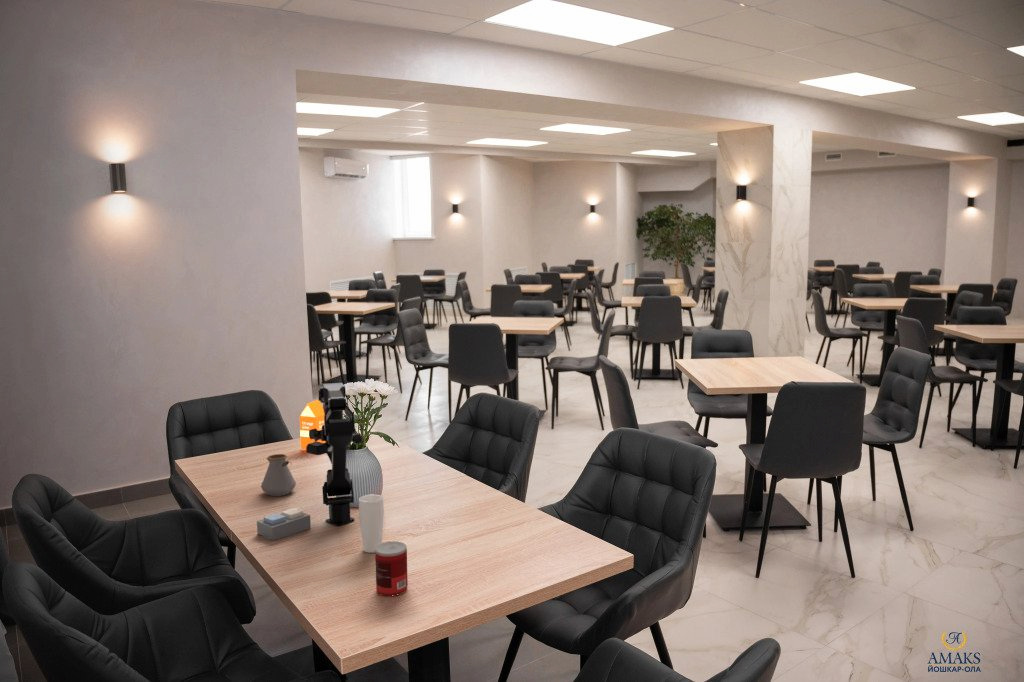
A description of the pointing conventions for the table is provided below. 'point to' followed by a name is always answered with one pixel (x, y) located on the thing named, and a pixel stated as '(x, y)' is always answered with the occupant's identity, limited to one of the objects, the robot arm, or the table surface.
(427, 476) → the table surface
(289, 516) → the cream key
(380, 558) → the canned food
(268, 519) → the blue key
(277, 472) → the coffee pot
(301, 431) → the orange juice
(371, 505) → the drinking glass
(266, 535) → the key block
